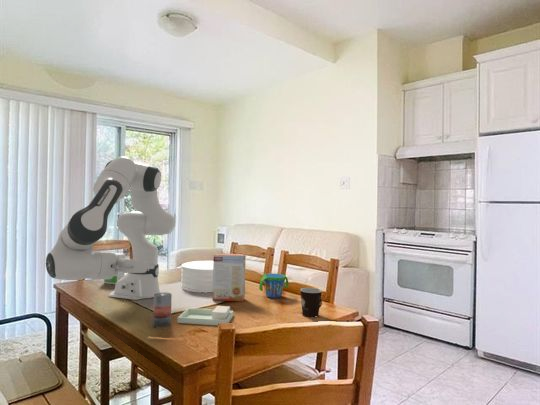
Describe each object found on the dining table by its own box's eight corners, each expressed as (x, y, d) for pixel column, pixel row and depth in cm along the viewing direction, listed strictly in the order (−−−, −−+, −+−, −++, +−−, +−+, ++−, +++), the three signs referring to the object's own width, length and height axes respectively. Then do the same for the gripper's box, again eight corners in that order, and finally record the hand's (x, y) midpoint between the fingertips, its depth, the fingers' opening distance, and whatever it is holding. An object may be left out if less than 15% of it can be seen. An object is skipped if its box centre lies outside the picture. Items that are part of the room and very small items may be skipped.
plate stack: (221, 279, 212) (221, 259, 212) (244, 289, 188) (244, 267, 188) (173, 283, 197) (174, 262, 197) (192, 295, 173) (193, 271, 173)
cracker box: (244, 298, 169) (246, 253, 170) (242, 302, 163) (244, 255, 164) (215, 297, 171) (216, 252, 171) (211, 300, 165) (213, 254, 165)
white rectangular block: (211, 322, 132) (212, 311, 132) (216, 316, 140) (217, 305, 140) (225, 323, 132) (225, 312, 132) (229, 317, 140) (230, 306, 140)
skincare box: (103, 283, 192) (104, 253, 192) (110, 280, 198) (111, 252, 198) (118, 284, 190) (119, 254, 190) (125, 281, 197) (126, 253, 197)
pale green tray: (177, 324, 131) (177, 317, 131) (188, 314, 143) (188, 308, 143) (226, 327, 130) (227, 320, 130) (233, 317, 142) (233, 310, 142)
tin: (150, 327, 127) (151, 296, 127) (157, 322, 133) (158, 292, 133) (167, 328, 126) (168, 297, 127) (173, 323, 133) (174, 292, 133)
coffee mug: (299, 311, 152) (299, 287, 152) (319, 312, 152) (320, 288, 152) (300, 320, 140) (301, 294, 140) (323, 321, 140) (323, 295, 140)
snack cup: (282, 292, 184) (283, 272, 184) (293, 297, 174) (294, 276, 174) (254, 295, 177) (255, 274, 177) (264, 300, 167) (264, 278, 167)
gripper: (119, 256, 108) (162, 257, 118) (95, 253, 123) (135, 254, 132) (117, 278, 108) (161, 277, 117) (93, 272, 122) (133, 272, 132)
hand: (147, 265), depth 125 cm, fingers open, 8 cm apart
